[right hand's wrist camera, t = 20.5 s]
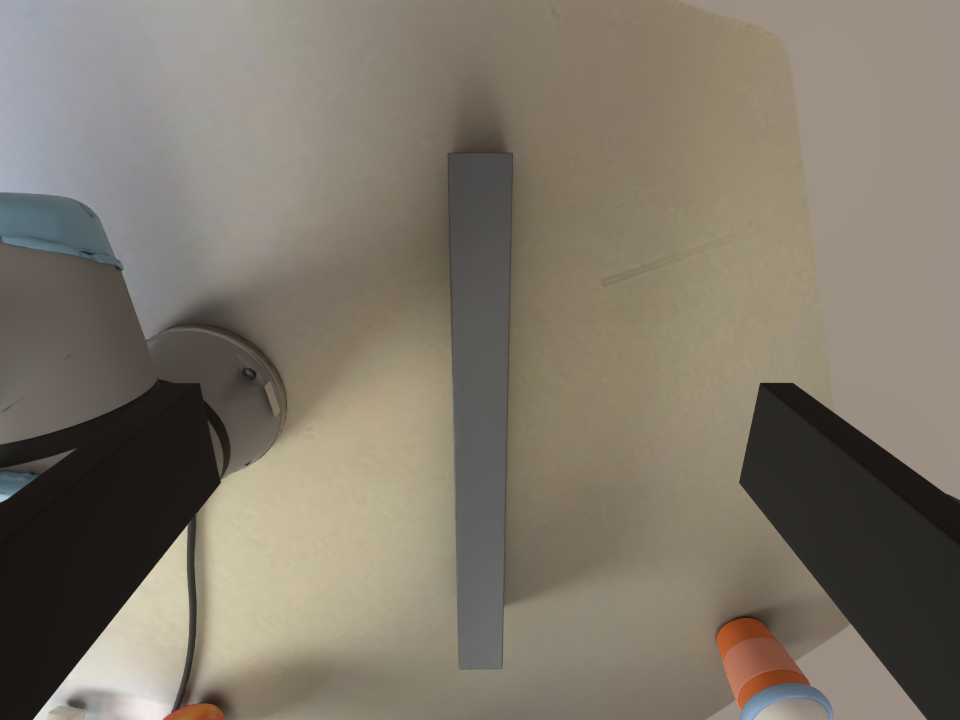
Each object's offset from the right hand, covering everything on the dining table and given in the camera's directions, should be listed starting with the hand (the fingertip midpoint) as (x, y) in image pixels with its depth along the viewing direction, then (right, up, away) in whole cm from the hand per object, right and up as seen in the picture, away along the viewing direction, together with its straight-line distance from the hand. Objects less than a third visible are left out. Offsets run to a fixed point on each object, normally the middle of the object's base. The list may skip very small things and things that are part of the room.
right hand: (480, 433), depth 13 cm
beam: (0, -4, +41) cm, 41 cm away
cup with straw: (+32, -32, +51) cm, 68 cm away
